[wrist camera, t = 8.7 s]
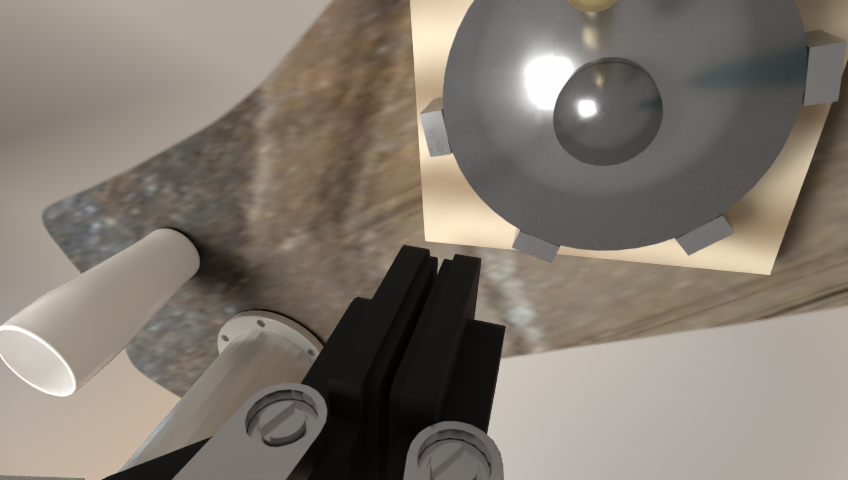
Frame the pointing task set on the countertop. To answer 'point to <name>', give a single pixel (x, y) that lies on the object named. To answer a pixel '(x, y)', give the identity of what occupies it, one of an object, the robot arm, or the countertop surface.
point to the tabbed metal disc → (625, 113)
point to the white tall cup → (96, 313)
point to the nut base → (741, 252)
